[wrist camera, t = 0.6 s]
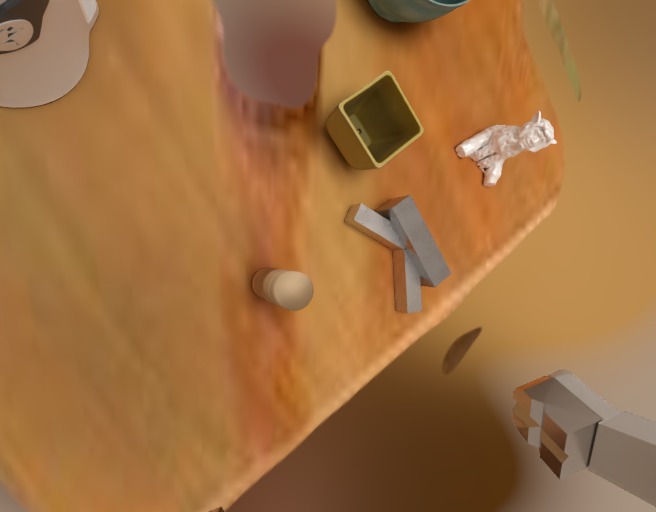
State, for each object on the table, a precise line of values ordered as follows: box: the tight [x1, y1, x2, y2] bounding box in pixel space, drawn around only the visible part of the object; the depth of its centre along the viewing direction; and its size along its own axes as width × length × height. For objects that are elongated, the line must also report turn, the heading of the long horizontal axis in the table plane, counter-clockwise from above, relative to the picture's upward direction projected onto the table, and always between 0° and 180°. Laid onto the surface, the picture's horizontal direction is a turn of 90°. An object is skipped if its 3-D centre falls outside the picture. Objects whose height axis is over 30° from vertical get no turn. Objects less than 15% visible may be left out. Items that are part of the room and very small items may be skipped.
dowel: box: [251, 268, 313, 311], centre depth 45 cm, size 4×4×11 cm
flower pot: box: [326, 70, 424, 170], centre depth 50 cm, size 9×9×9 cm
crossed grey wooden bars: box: [344, 195, 451, 313], centre depth 55 cm, size 18×8×5 cm, turn 34°
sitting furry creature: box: [455, 110, 557, 187], centre depth 59 cm, size 10×9×12 cm
